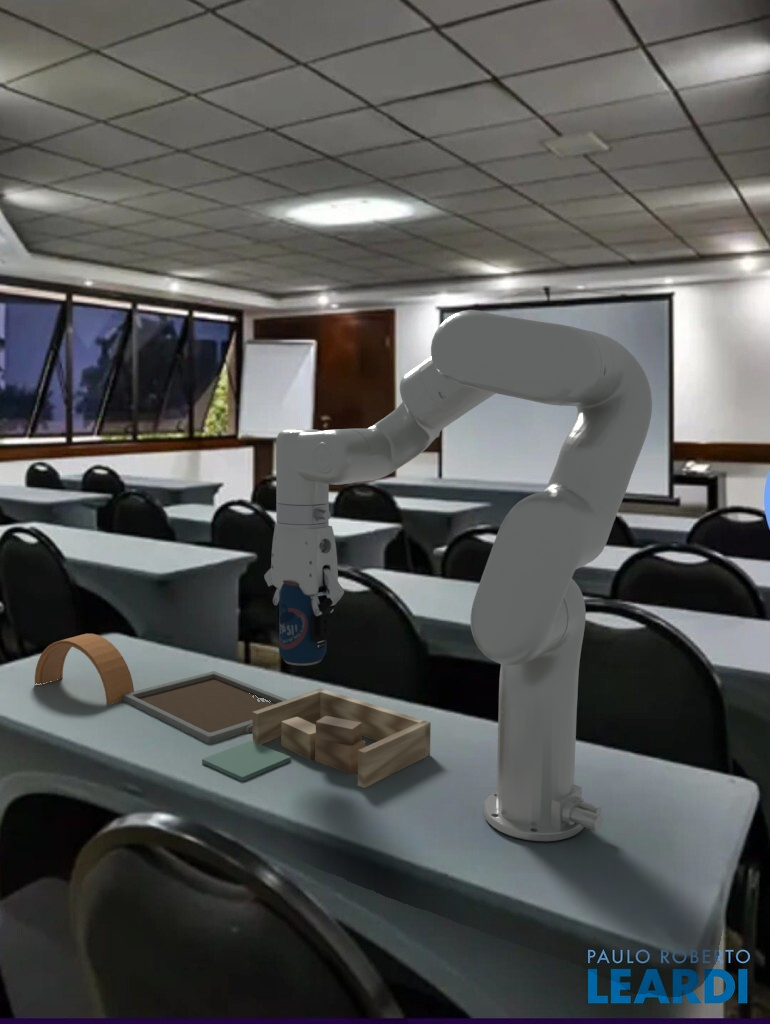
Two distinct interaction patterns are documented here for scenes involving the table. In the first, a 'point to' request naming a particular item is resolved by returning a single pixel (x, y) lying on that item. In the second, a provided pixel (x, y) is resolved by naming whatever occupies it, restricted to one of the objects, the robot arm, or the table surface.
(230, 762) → the mat
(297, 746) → the offcut
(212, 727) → the framed cork board
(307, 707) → the enclosure
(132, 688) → the arch
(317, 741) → the offcut
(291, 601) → the soda can
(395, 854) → the table surface
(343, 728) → the offcut top
